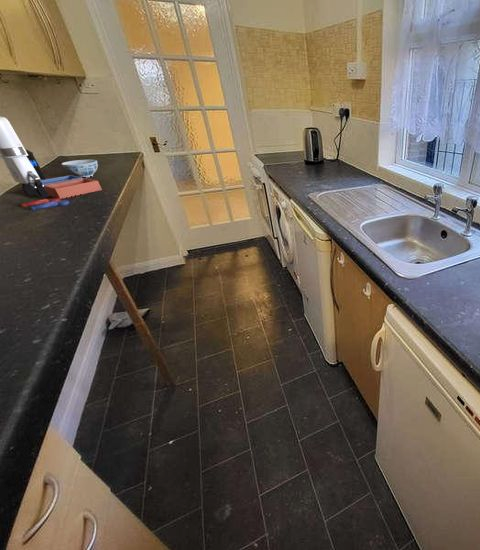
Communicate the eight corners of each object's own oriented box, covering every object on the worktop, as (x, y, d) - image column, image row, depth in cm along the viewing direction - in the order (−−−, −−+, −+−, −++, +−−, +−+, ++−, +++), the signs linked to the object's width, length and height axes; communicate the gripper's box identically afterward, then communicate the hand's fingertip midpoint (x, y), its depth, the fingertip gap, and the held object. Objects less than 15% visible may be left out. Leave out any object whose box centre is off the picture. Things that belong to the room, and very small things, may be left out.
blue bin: (45, 195, 136) (39, 185, 134) (33, 192, 140) (28, 182, 138) (87, 186, 149) (82, 177, 147) (75, 184, 153) (70, 175, 151)
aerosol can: (28, 187, 147) (3, 143, 137) (50, 184, 152) (27, 142, 141) (28, 190, 142) (1, 145, 132) (51, 187, 147) (27, 144, 136)
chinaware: (70, 175, 168) (63, 161, 164) (103, 172, 176) (97, 158, 172) (67, 181, 158) (59, 166, 154) (102, 177, 166) (96, 162, 162)
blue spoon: (34, 212, 117) (31, 207, 116) (29, 210, 119) (26, 205, 118) (71, 203, 127) (69, 199, 126) (66, 202, 128) (64, 197, 127)
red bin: (60, 199, 132) (55, 188, 129) (48, 195, 136) (42, 185, 133) (102, 190, 145) (97, 180, 142) (89, 187, 148) (85, 178, 146)
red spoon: (25, 209, 120) (22, 204, 119) (20, 208, 121) (18, 203, 120) (63, 201, 129) (60, 196, 128) (58, 200, 131) (55, 195, 130)
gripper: (-11, 152, 114) (16, 196, 123) (9, 155, 108) (37, 201, 117) (14, 149, 120) (39, 191, 129) (36, 152, 114) (60, 196, 123)
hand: (38, 196), depth 123 cm, fingers open, 9 cm apart
